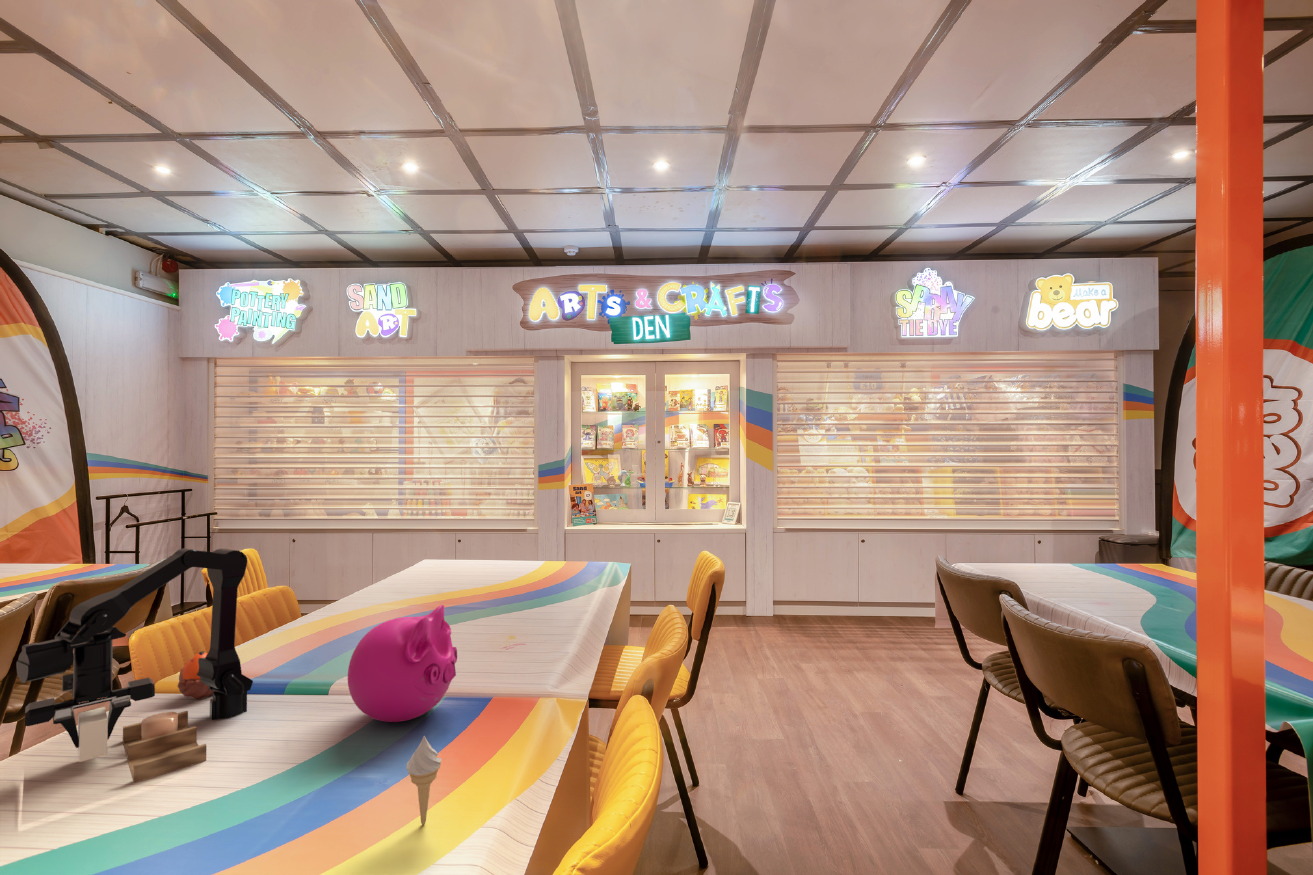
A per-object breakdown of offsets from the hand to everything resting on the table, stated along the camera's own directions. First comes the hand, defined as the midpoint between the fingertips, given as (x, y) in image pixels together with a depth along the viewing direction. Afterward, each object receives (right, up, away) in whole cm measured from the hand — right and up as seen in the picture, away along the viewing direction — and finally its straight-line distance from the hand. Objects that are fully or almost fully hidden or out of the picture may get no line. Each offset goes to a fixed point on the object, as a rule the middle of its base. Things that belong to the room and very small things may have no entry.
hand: (92, 743), depth 120 cm
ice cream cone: (+74, -4, -19) cm, 76 cm away
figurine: (+53, -5, +22) cm, 58 cm away
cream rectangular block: (0, -2, 0) cm, 2 cm away
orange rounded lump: (-3, -6, +34) cm, 34 cm away
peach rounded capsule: (+6, -4, +9) cm, 11 cm away
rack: (+10, -5, +5) cm, 12 cm away
